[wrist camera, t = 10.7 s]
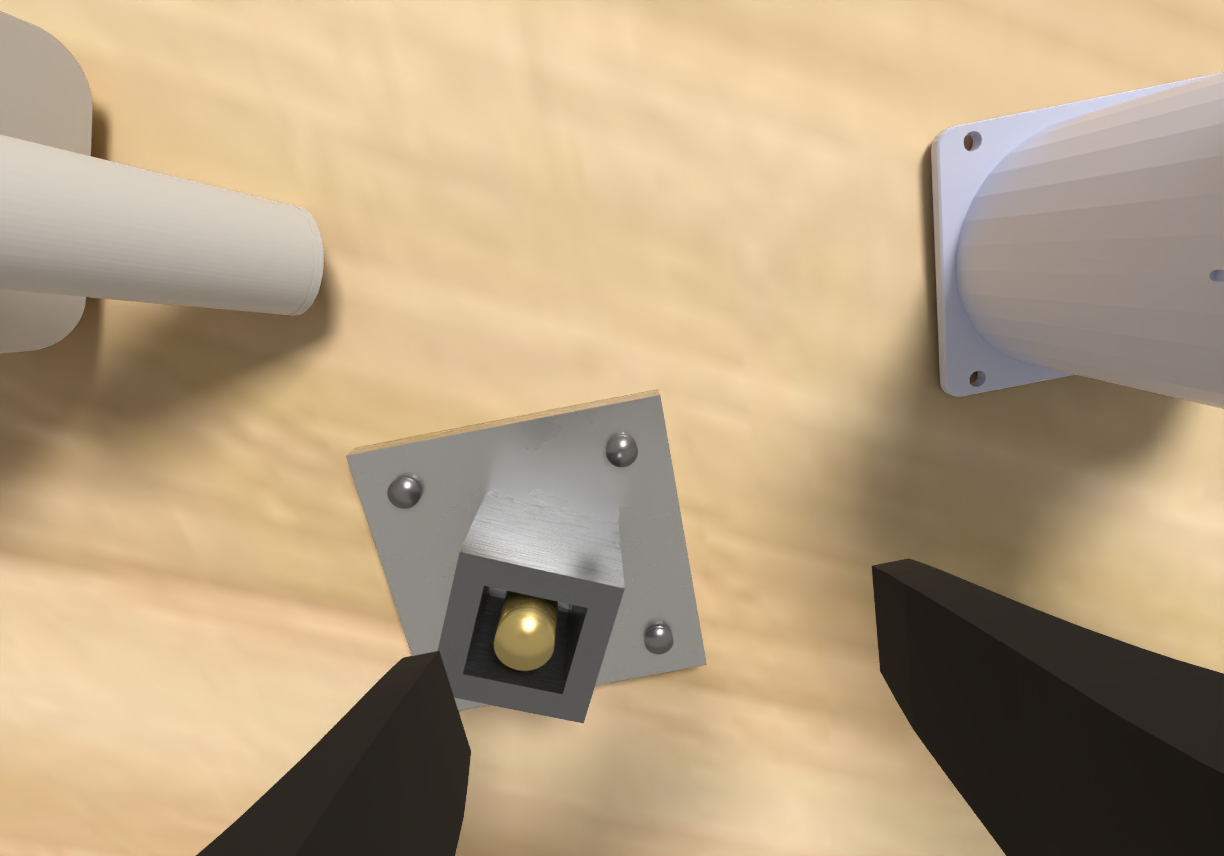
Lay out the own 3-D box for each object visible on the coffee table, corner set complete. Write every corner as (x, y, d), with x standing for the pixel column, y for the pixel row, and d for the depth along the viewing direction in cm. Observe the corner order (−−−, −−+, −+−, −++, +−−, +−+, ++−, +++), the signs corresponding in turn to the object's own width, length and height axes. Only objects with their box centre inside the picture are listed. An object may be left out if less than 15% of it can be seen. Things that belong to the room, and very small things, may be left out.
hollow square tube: (618, 524, 19) (624, 588, 16) (584, 636, 21) (583, 723, 17) (486, 493, 19) (459, 551, 15) (459, 610, 20) (428, 692, 16)
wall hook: (331, 405, 18) (-110, 519, 9) (57, 314, 20) (-586, 327, 10) (372, 128, 16) (-146, -119, 7) (62, 48, 18) (-738, -253, 8)
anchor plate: (657, 389, 19) (679, 432, 14) (702, 650, 22) (733, 760, 17) (355, 447, 19) (277, 509, 14) (437, 699, 22) (394, 822, 17)
